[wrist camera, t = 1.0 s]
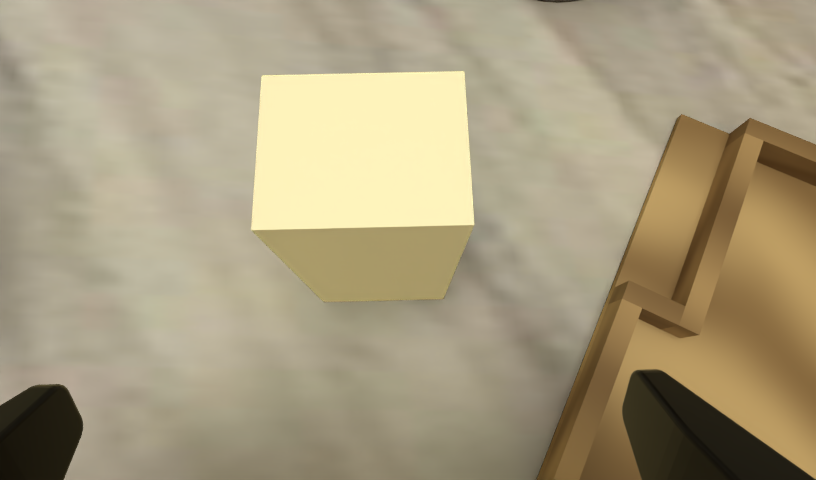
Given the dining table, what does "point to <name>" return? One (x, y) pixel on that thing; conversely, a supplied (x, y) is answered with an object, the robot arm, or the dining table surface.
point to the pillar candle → (558, 0)
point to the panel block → (365, 181)
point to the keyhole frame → (708, 300)
